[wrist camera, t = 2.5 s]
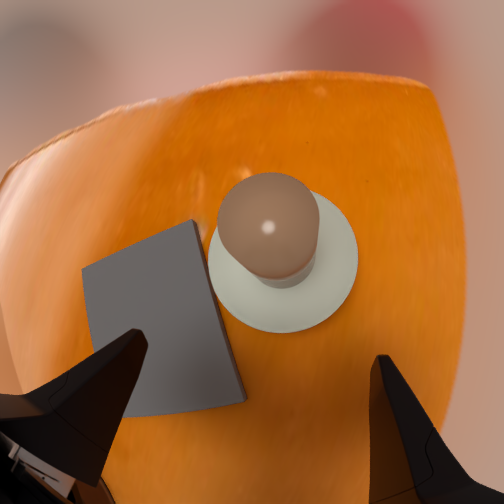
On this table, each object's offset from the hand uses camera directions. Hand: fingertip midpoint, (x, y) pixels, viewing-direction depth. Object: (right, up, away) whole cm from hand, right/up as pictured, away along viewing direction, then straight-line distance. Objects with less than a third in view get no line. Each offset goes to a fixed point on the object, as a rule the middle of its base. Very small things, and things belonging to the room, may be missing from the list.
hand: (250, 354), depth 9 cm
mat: (-9, -3, +14) cm, 17 cm away
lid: (+2, +3, +9) cm, 10 cm away
